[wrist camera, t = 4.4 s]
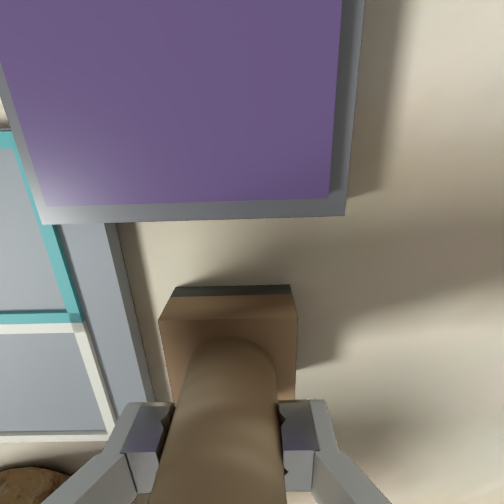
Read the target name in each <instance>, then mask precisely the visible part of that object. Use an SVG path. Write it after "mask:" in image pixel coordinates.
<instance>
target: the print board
mask: <svg viewBox="0 0 504 504" xmlns="http://www.w3.org/2000/svg"><path fill="white" fill-rule="evenodd" d="M128 402H155V397H154V393H153V389H152V384H151V380H150V375H149V371H148V366H147V362H146V357H145V353H144V349H143V344H142V340H141V335H140V331H139V326H138V322H137V317H136V313H135V309H134V304H133V300H132V295H131V291H130V286H129V282H128V277H127V273H126V269H125V264H124V260H123V255H122V251H121V246H120V242H119V237H118V233H117V229H116V224H115V223H89V224H55V225H42V222H41V219H40V216H39V213H38V210H37V207H36V204H35V201H34V198H33V195H32V192H31V189H30V186H29V183H28V180H27V177H26V174H25V171H24V167H23V164H22V161H21V158H20V155H19V152H18V149H17V146H16V143H15V140H14V137H13V134H12V131H11V128H5V129H0V442H74V441H108V439H109V437H110V435H111V433H112V431H113V429H114V427H115V424H116V422H117V420H118V418H119V416H120V414H121V412H122V410H123V408H124V407H125V406H126V404H127V403H128Z"/></svg>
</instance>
